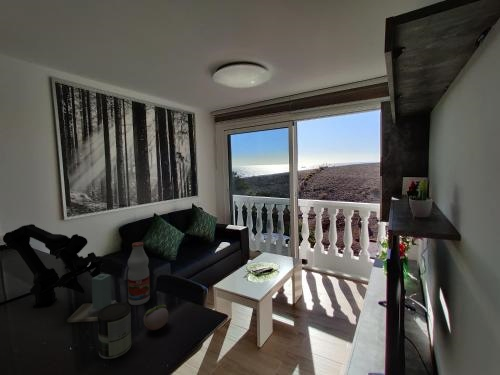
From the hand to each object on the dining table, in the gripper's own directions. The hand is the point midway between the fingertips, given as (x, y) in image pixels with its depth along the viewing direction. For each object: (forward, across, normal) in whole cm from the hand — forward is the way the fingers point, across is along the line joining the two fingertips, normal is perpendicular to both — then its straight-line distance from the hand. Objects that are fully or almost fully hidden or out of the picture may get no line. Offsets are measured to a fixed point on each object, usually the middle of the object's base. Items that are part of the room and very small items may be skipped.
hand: (92, 287), depth 109 cm
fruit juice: (+17, +14, -1) cm, 22 cm away
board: (+8, 0, +7) cm, 11 cm away
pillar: (+9, 0, +2) cm, 9 cm away
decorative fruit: (+32, -3, -16) cm, 36 cm away
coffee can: (+26, -16, -10) cm, 32 cm away
